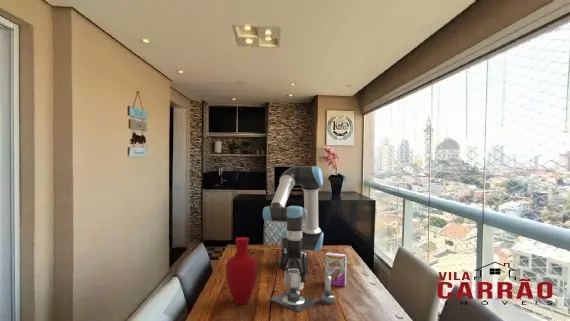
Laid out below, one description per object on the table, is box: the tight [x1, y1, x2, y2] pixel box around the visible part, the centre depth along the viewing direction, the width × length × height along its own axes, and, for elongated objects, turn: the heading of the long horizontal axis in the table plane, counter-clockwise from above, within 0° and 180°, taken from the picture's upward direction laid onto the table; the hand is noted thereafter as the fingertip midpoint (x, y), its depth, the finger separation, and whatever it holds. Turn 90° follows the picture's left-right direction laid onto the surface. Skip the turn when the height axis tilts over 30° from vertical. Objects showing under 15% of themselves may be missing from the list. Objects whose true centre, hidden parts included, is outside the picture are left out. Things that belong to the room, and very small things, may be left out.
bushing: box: [284, 268, 300, 288], centre depth 153 cm, size 8×8×6 cm
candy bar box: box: [324, 252, 347, 288], centre depth 175 cm, size 11×5×16 cm, turn 71°
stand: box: [320, 275, 335, 305], centre depth 154 cm, size 6×6×12 cm
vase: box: [225, 236, 258, 305], centre depth 153 cm, size 15×15×30 cm
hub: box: [269, 287, 318, 313], centre depth 153 cm, size 18×14×10 cm
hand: (293, 286), depth 153 cm, fingers closed on bushing, 8 cm apart
